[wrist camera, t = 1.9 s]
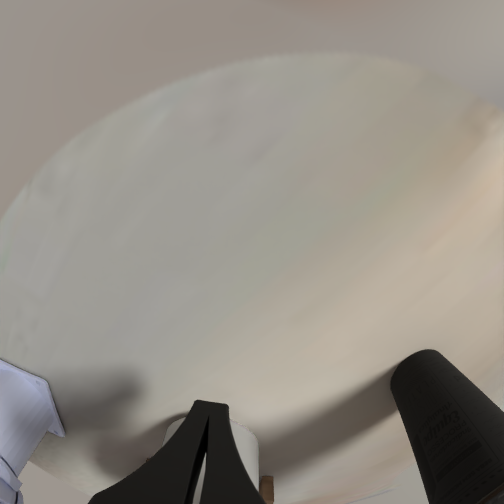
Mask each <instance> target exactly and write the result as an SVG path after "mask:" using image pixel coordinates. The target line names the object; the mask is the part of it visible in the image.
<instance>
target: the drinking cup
mask: <svg viewBox="0 0 504 504" xmlns="http://www.w3.org/2000/svg"><path fill="white" fill-rule="evenodd" d="M391 391H392V394H393V396H394V399H395V402H396V404H397V407H398V410H399V412H400V415H401V418H402V421H403V423H404V426H405V429H406V432H407V435H408V438H409V441H410V444H411V447H412V449H413V453H414V456H415V459H416V462H417V465H418V468H419V471H420V474H421V478H422V481H423V484H424V488H425V491H426V494H427V498H428V501H429V504H504V412H503V411H502V410H501V409H500V408H499V407H498V406H497V405H496V404H495V403H493V402H492V401H491V400H490V399H489V398H488V397H487V396H486V395H485V394H484V393H483V392H482V391H481V390H480V389H479V388H478V387H477V386H475V385H474V384H473V383H472V382H471V381H470V380H469V379H468V378H467V377H466V376H465V375H464V374H462V373H461V372H460V371H459V370H458V369H457V368H456V367H455V366H454V365H453V364H451V363H450V362H449V361H448V360H447V359H446V358H445V357H444V356H443V355H441V354H440V353H439V352H438V351H436V350H431V349H428V350H422V351H419V352H417V353H415V354H413V355H411V356H410V357H408V358H407V359H406V360H404V361H403V362H402V363H401V364H400V365H399V367H398V368H397V369H396V371H395V372H394V374H393V376H392V379H391Z"/></svg>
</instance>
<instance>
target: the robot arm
mask: <svg viewBox="0 0 504 504" xmlns="http://www.w3.org/2000/svg"><path fill="white" fill-rule="evenodd" d="M47 431H49V432H51V433H53V434H56V435H58V436H60V437H64V436H65V432H64V429H63V427H62V424H61V421H60V419H59V416H58V413H57V410H56V407H55V404H54V401H53V398H52V395H51V392H50V389H49V385H48V383H47V382H46V381H45V380H44V379H42V378H40V377H37V376H35V375H33V374H30V373H28V372H26V371H23V370H21V369H19V368H17V367H15V366H13V365H11V364H8V363H6V362H4V361H2V360H0V504H23V495H22V493H21V491H20V490H19V488H20V487H21V485H22V483H21V482H20V481H19V480H18V479H17V478H18V476H19V474H20V473H21V471H22V469H23V468H24V466H25V465H26V463H27V461H28V460H29V458H30V457H31V455H32V454H33V452H34V450H35V449H36V447H37V446H38V444H39V443H40V441H41V440H42V438H43V437H44V435H45V434H46V432H47ZM205 454H206V465H205V474H204V480H203V485H202V491H201V497H200V502H199V504H266V502H265V501H264V499H263V498H262V496H261V495H260V493H259V492H258V490H257V489H256V487H255V486H254V484H253V482H252V480H251V479H250V477H249V475H248V473H247V471H246V469H245V467H244V464H243V462H242V460H241V457H240V455H239V452H238V449H237V447H236V443H235V440H234V437H233V433H232V429H231V424H230V419H229V406H228V405H227V404H222V403H215V402H209V401H202V400H196V401H194V404H193V406H192V408H191V410H190V411H189V413H188V415H187V416H186V418H185V419H184V421H183V422H182V424H181V425H180V426H179V428H178V429H177V430H176V432H175V433H174V434H173V436H172V437H171V438H170V439H169V440H168V441H167V442H166V444H165V445H164V446H163V447H162V448H161V449H160V450H159V451H158V452H157V453H156V454H155V455H154V456H153V457H152V458H151V459H150V460H148V461H147V462H146V463H145V464H144V465H142V466H141V467H140V468H139V469H137V470H136V471H135V472H133V473H132V474H130V475H129V476H127V477H126V478H124V479H123V480H121V481H119V482H118V483H116V484H114V485H113V486H111V487H109V488H107V489H105V490H103V491H101V492H99V493H97V494H95V495H94V496H93V497H92V498H91V500H90V501H89V503H88V504H193V499H194V494H195V490H196V487H197V483H198V479H199V476H200V472H201V468H202V465H203V461H204V457H205Z"/></svg>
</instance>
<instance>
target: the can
mask: <svg viewBox="0 0 504 504" xmlns="http://www.w3.org/2000/svg"><path fill="white" fill-rule="evenodd" d="M185 418H186V417H184V418H182V419H179V420H177V421H175V422H173V423H172V424H171V425H170V426H169V427H168V429H167V431H166V435H165V438H164V441H163V444H162V447H163V446H164V445H165V444H166V442H167V441H168V440H169V439H170V438H171V437H172V436H173V434H174V433H175V432H176V430H177V429H178V428H179V426H180V425H181V424H182V422H183V421H184V419H185ZM230 424H231V429H232V433H233V437H234V440H235V443H236V447H237V449H238V452H239V455H240V457H241V460H242V462H243V464H244V467H245V469H246V471H247V473H248V475H249V477H250V479H251V480H252V482H253V484H254V486H255V487H256V489H257V490H258V492H259V445H258V441H257V439H256V437H255V435H254V434H253V433H252V432H251V431H250V430H248V429H247V428H246V427H245V426H243V425H241V424H239V423H237V422H235V421H233V420H231V419H230ZM205 465H206V454H205V457H204V461H203V465H202V468H201V472H200V476H199V479H198V483H197V487H196V490H195V494H194V499H193V504H199V502H200V497H201V491H202V485H203V480H204V474H205Z"/></svg>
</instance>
